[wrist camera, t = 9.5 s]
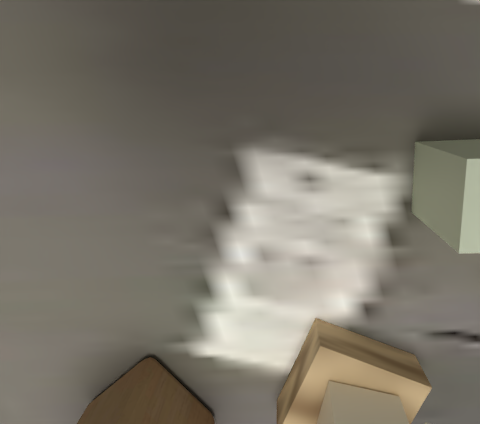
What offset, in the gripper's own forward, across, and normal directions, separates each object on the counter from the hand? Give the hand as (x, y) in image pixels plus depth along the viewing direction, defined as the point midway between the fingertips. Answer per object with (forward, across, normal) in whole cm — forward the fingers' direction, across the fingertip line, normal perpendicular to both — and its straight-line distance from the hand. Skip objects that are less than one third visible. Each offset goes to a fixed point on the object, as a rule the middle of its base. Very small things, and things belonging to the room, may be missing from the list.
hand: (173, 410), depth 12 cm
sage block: (+27, +16, +4) cm, 32 cm away
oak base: (+26, +13, -17) cm, 34 cm away
